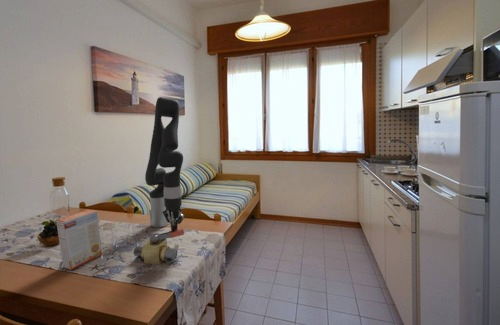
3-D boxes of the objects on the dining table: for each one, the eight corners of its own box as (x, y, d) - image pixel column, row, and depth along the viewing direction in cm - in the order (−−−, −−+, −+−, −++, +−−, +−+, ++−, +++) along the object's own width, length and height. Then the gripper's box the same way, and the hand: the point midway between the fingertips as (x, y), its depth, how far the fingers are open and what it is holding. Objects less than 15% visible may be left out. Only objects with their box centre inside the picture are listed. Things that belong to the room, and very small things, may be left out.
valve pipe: (132, 262, 113) (130, 243, 112) (142, 254, 120) (140, 236, 118) (171, 265, 110) (170, 246, 108) (179, 256, 116) (178, 239, 115)
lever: (151, 243, 111) (150, 238, 110) (148, 240, 114) (148, 235, 114) (184, 235, 118) (184, 230, 118) (181, 232, 122) (181, 227, 121)
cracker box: (94, 252, 122) (89, 209, 119) (102, 255, 119) (98, 210, 116) (61, 267, 109) (55, 219, 106) (70, 270, 107) (64, 221, 104)
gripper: (156, 195, 118) (158, 231, 121) (176, 200, 111) (178, 238, 114) (169, 191, 125) (171, 226, 128) (189, 195, 117) (190, 232, 120)
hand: (174, 232), depth 121 cm, fingers closed
